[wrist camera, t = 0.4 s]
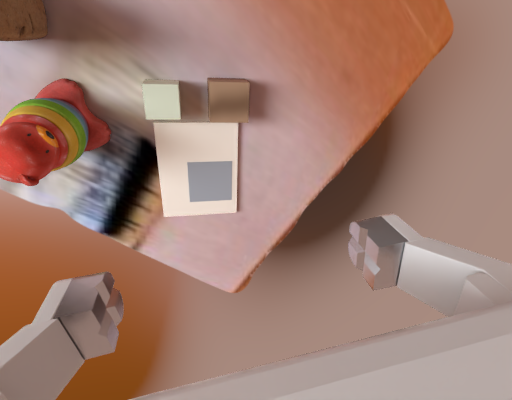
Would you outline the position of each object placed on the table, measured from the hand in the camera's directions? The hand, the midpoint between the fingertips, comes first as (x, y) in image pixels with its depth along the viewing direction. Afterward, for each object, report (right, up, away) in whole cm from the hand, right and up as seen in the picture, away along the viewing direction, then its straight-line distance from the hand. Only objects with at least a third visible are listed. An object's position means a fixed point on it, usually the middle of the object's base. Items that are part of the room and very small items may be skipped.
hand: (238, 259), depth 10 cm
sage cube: (-14, +19, +38) cm, 44 cm away
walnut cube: (-4, +19, +40) cm, 44 cm away
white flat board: (-10, +7, +45) cm, 46 cm away
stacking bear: (-29, +14, +37) cm, 49 cm away
